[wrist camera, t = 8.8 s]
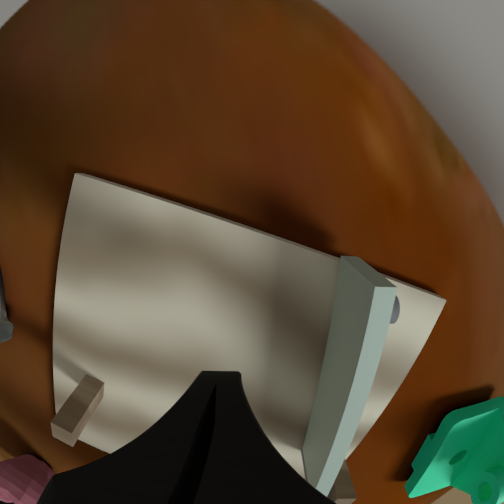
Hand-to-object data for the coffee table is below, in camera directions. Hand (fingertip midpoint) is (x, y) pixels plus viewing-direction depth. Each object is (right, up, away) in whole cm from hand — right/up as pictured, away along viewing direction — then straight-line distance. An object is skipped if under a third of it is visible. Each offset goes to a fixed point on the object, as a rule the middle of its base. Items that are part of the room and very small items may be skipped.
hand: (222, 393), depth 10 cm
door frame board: (-1, -4, +9) cm, 11 cm away
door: (+6, -3, +8) cm, 10 cm away
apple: (-24, -20, +13) cm, 34 cm away
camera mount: (+21, -14, +12) cm, 28 cm away
